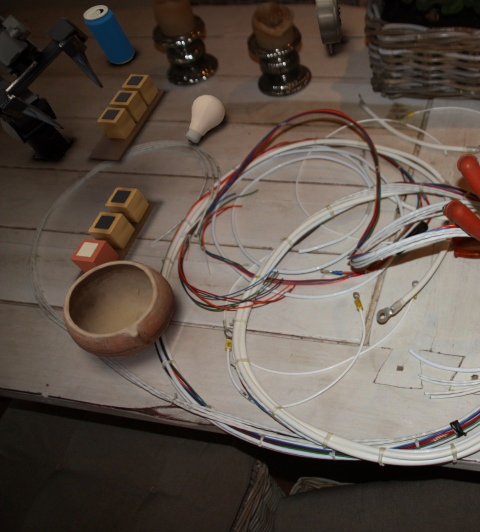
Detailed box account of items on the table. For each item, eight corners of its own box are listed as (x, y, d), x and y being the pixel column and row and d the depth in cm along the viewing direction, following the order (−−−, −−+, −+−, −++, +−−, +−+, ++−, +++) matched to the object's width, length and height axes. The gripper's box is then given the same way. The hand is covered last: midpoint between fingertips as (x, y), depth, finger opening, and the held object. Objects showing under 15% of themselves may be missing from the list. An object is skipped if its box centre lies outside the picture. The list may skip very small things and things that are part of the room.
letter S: (85, 273, 96) (69, 258, 92) (98, 253, 98) (82, 237, 94) (107, 276, 95) (92, 261, 91) (119, 255, 97) (105, 240, 93)
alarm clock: (323, 31, 131) (306, -38, 117) (345, 27, 130) (331, -42, 117) (325, 58, 124) (307, -11, 111) (348, 54, 124) (333, -15, 111)
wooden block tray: (79, 278, 96) (60, 261, 92) (126, 201, 106) (111, 182, 101) (113, 282, 95) (96, 265, 90) (158, 204, 104) (144, 185, 100)
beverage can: (141, 53, 134) (115, 7, 124) (122, 68, 131) (93, 22, 121) (124, 47, 136) (97, 1, 127) (105, 62, 134) (75, 16, 124)
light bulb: (188, 134, 107) (215, 89, 109) (168, 130, 111) (195, 86, 113) (211, 153, 113) (236, 109, 115) (191, 148, 116) (216, 106, 118)
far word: (90, 159, 114) (75, 140, 109) (138, 91, 125) (126, 71, 121) (119, 161, 112) (105, 142, 108) (165, 92, 124) (154, 72, 120)
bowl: (161, 374, 83) (127, 346, 75) (73, 362, 86) (31, 334, 78) (199, 288, 92) (172, 254, 84) (117, 280, 95) (83, 246, 87)
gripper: (-80, 66, 76) (19, 144, 80) (13, -30, 77) (107, 52, 81) (-36, 84, 87) (50, 152, 90) (45, 0, 88) (127, 70, 92)
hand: (82, 107), depth 88 cm, fingers open, 9 cm apart
